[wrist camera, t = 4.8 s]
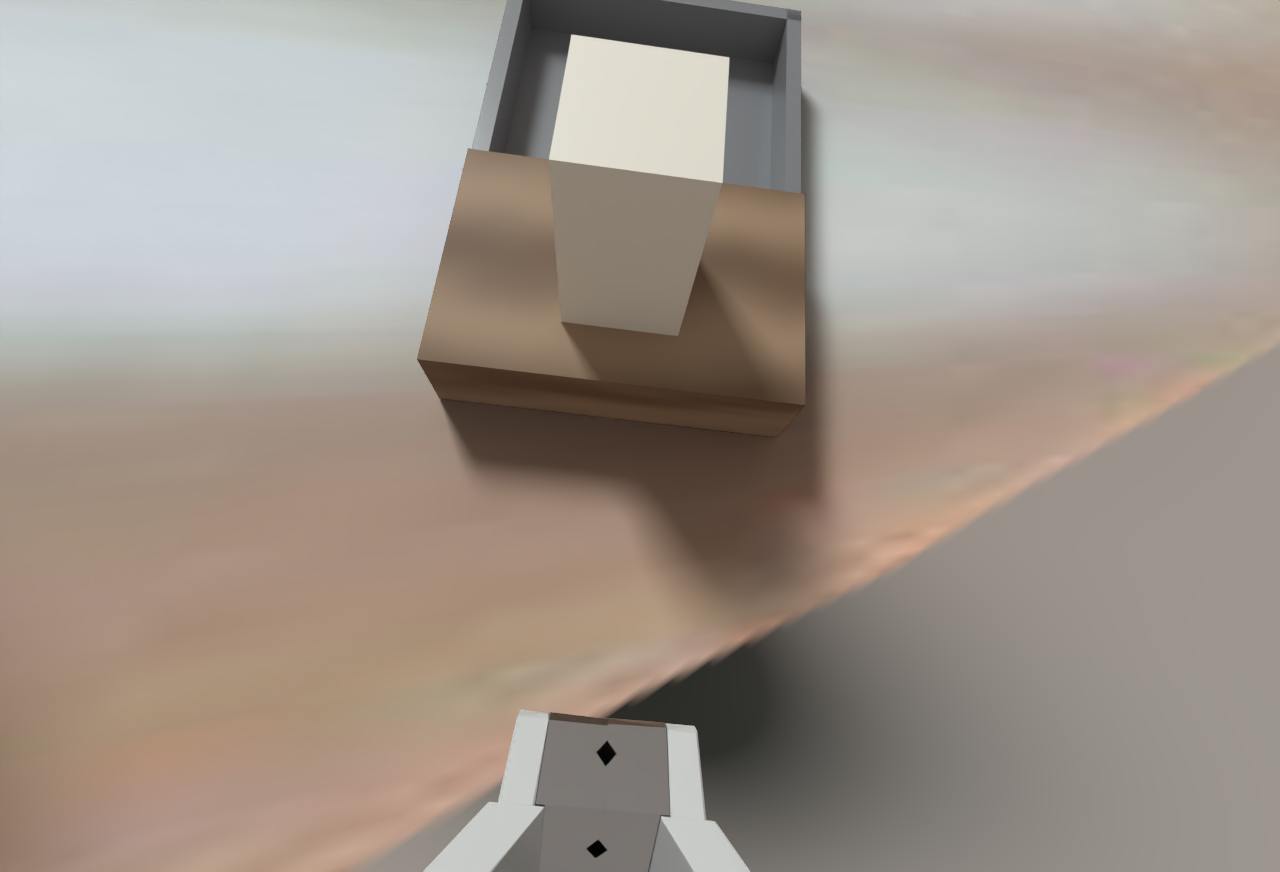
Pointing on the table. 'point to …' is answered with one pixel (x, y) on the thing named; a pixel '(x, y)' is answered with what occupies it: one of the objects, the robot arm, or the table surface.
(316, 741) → the table surface
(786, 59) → the bin
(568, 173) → the block
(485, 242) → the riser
